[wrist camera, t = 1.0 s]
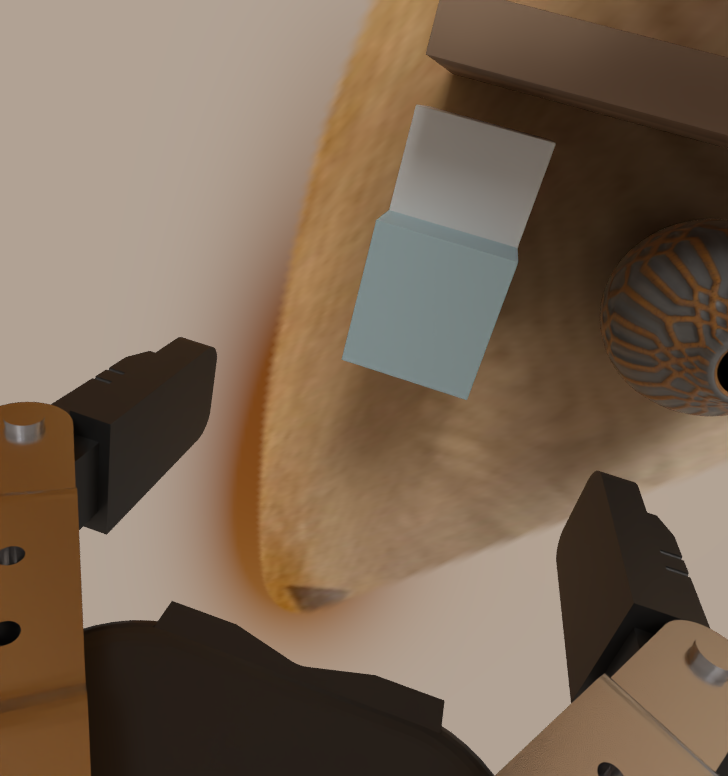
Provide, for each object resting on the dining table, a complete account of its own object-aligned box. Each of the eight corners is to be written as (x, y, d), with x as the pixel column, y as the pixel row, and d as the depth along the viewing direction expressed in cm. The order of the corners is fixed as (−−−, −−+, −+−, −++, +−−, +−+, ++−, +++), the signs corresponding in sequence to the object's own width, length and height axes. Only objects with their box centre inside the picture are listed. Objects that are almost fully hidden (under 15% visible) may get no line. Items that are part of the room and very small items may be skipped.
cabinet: (436, 106, 24) (405, 103, 17) (545, 137, 24) (561, 146, 17) (380, 313, 28) (336, 379, 21) (472, 342, 28) (459, 419, 21)
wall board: (465, 27, 23) (443, -16, 15) (921, 148, 21) (1149, 166, 14) (453, 73, 23) (425, 53, 16) (893, 193, 22) (1094, 234, 14)
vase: (557, 278, 26) (578, 349, 18) (712, 168, 23) (817, 197, 15) (646, 394, 27) (702, 507, 19) (804, 304, 24) (944, 395, 16)
